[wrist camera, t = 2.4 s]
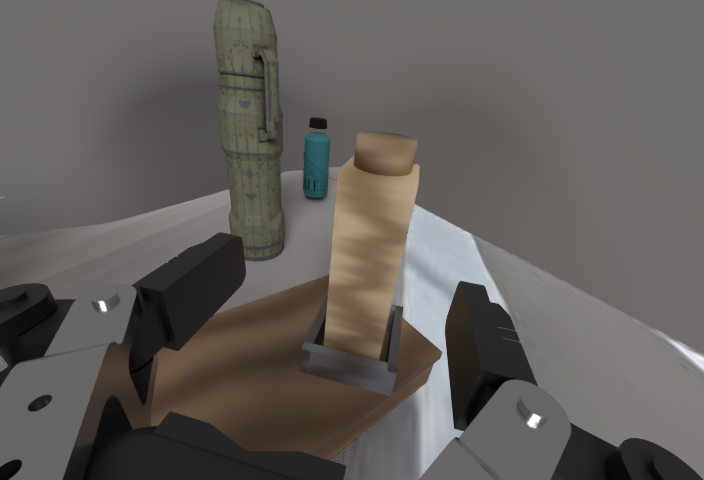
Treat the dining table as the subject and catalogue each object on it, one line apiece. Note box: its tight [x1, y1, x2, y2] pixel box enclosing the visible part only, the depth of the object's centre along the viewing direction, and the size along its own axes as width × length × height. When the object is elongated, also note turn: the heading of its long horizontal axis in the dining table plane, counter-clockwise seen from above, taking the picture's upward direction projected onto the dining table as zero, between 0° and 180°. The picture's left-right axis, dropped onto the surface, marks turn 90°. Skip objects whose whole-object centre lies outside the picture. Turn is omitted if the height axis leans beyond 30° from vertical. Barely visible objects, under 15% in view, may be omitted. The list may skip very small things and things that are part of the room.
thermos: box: [214, 0, 284, 261], centre depth 43 cm, size 9×12×35 cm
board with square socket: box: [151, 275, 442, 460], centre depth 28 cm, size 17×25×8 cm
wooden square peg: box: [324, 131, 419, 361], centre depth 23 cm, size 5×5×20 cm
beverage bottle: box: [303, 118, 330, 198], centre depth 71 cm, size 6×7×20 cm
